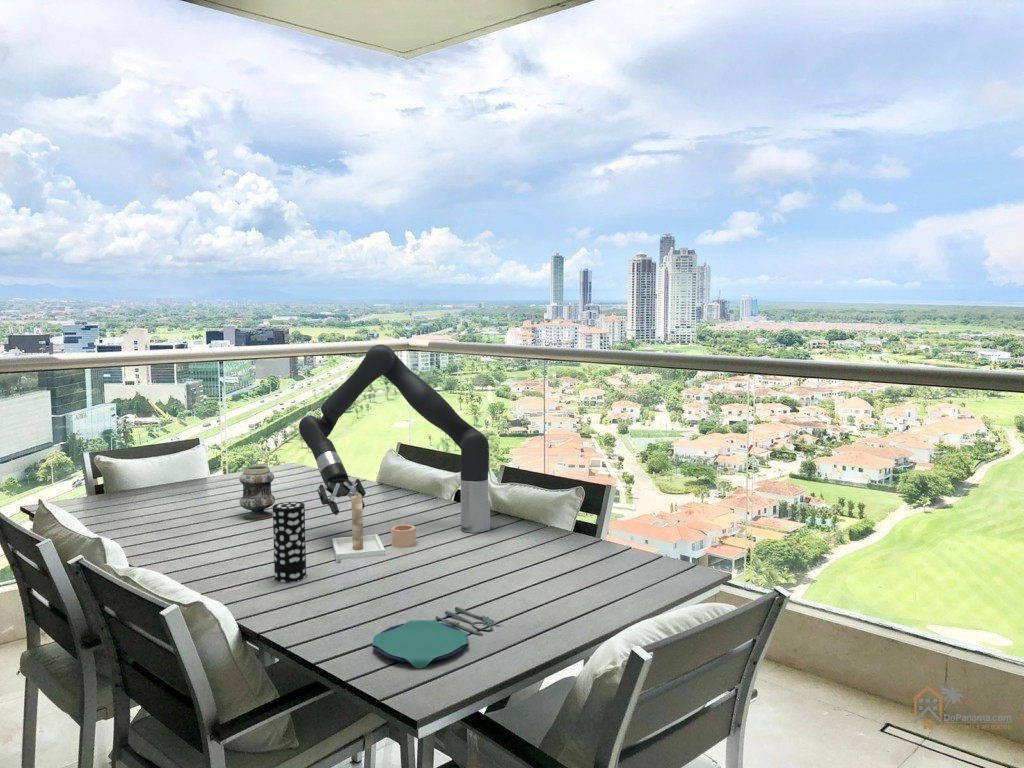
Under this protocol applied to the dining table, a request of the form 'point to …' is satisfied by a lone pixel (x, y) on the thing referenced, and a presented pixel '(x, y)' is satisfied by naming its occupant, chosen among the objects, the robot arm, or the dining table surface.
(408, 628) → the cutlery set
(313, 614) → the dining table surface
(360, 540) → the wooden pin
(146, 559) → the dining table surface
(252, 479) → the apothecary jar
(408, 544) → the holder cup
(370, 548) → the tray
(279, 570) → the spotted tube
